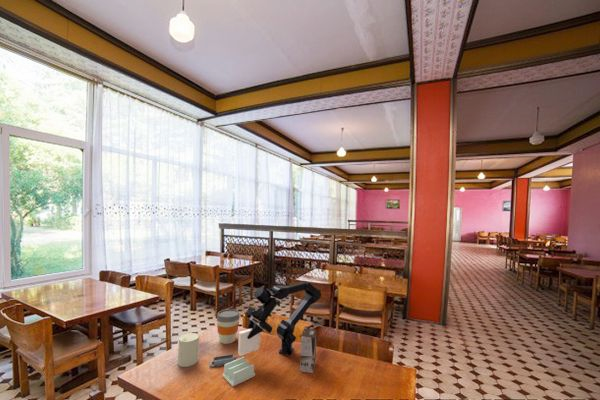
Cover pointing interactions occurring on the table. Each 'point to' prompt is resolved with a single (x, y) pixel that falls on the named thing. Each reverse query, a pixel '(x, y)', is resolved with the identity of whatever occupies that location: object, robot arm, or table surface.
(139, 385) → the table surface
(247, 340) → the white block
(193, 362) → the can
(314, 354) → the coffee box
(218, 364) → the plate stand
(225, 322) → the reusable coffee cup
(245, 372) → the dish rack
